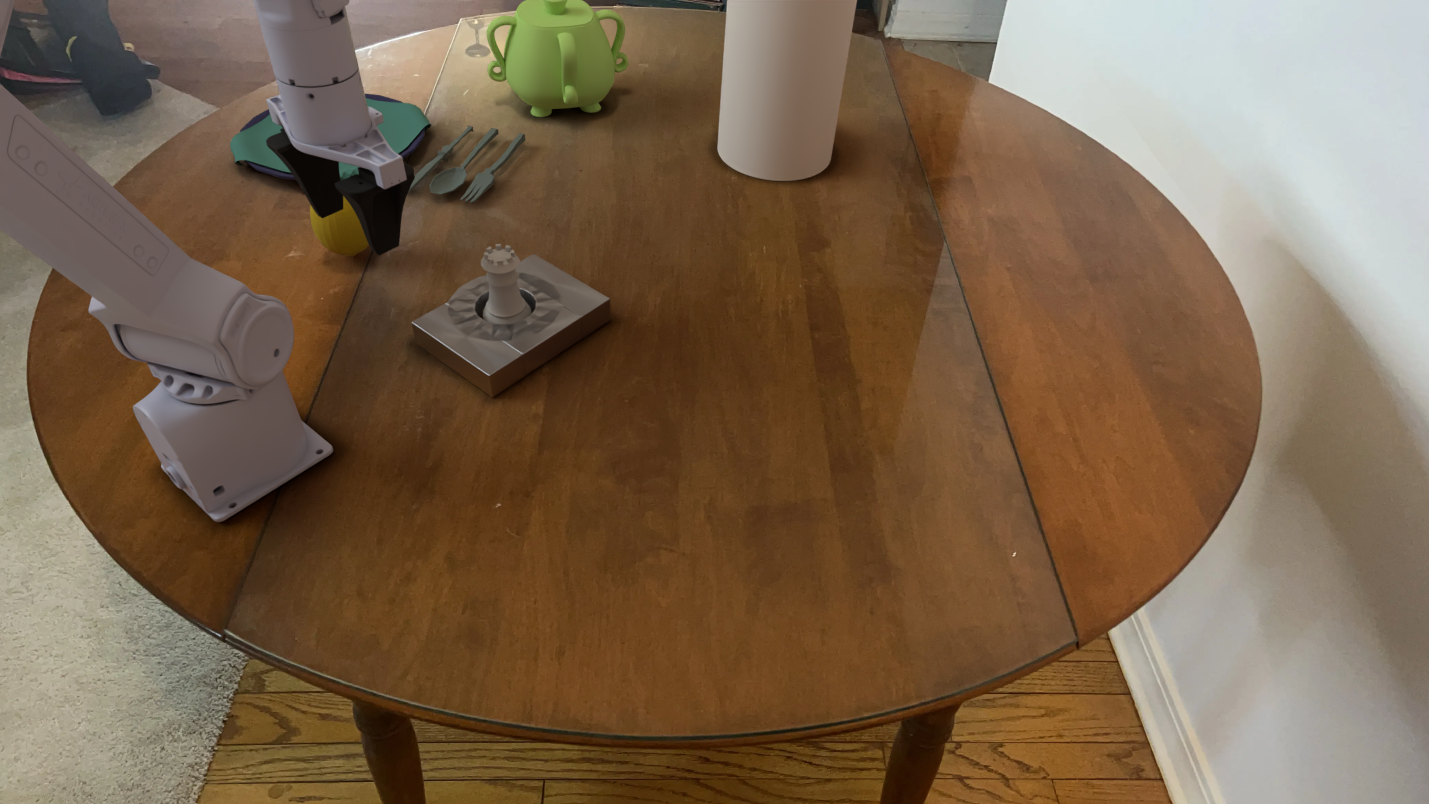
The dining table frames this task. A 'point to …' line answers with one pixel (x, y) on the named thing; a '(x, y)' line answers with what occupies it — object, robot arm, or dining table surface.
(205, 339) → the robot arm
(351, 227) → the lemon
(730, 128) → the canister
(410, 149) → the cutlery set
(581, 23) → the teapot
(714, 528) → the dining table surface
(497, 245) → the rook chess piece
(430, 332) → the stand
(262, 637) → the dining table surface
